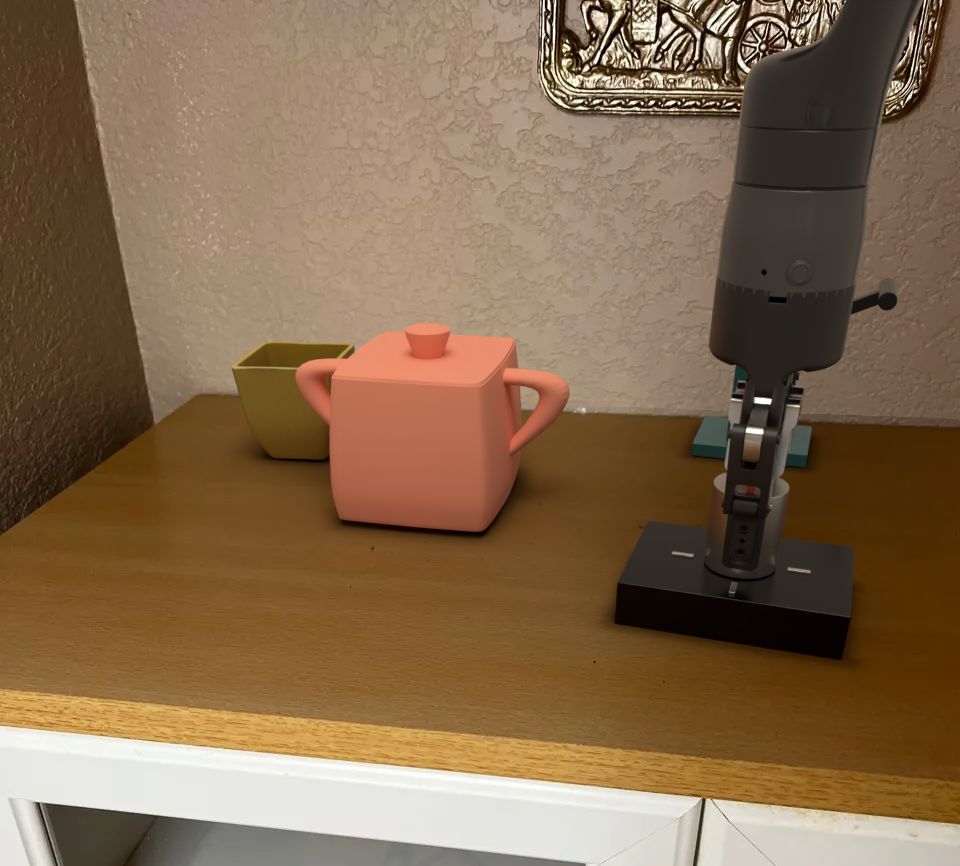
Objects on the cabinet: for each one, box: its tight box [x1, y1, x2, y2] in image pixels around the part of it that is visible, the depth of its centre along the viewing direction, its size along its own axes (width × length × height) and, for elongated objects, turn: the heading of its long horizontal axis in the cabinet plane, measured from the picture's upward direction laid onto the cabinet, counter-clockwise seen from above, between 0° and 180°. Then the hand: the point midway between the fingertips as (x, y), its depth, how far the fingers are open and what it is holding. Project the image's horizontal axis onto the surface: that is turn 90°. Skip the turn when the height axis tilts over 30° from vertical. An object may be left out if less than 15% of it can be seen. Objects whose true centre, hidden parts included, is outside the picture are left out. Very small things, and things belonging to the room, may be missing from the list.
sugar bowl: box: [295, 322, 570, 533], centre depth 80 cm, size 20×22×14 cm
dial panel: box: [614, 519, 855, 660], centre depth 64 cm, size 14×10×3 cm
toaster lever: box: [851, 277, 898, 315], centre depth 83 cm, size 12×6×2 cm, turn 71°
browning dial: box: [704, 472, 790, 579], centre depth 62 cm, size 5×5×6 cm
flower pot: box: [231, 341, 356, 461], centre depth 88 cm, size 9×9×9 cm
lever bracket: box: [690, 365, 813, 468], centre depth 88 cm, size 10×8×12 cm
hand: (745, 548), depth 63 cm, fingers closed on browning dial, 4 cm apart
